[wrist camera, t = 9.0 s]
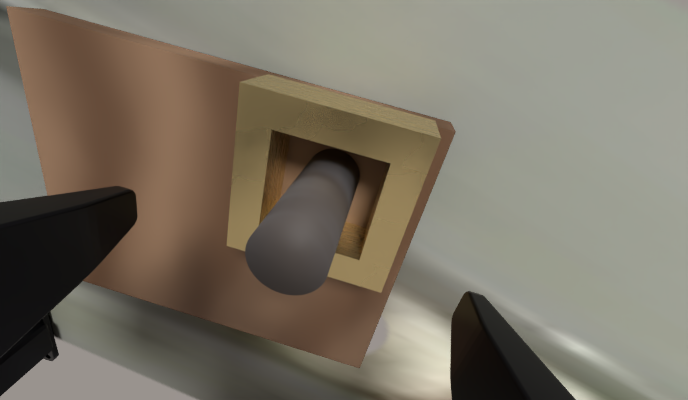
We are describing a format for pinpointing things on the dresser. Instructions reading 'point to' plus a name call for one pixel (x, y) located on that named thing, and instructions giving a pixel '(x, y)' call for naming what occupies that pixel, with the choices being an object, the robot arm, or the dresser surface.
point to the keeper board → (202, 185)
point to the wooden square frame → (340, 132)
